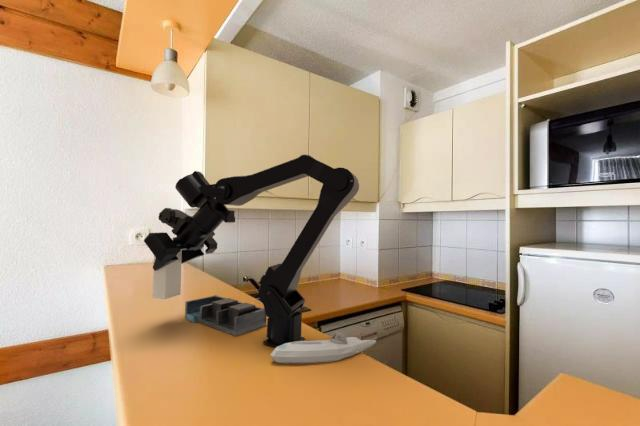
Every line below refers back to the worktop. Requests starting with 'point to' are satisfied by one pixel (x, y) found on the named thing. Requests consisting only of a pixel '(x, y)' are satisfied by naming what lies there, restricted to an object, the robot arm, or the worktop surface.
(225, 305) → the rack
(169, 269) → the white rectangular block
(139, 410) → the worktop surface
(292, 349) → the white toy boat
